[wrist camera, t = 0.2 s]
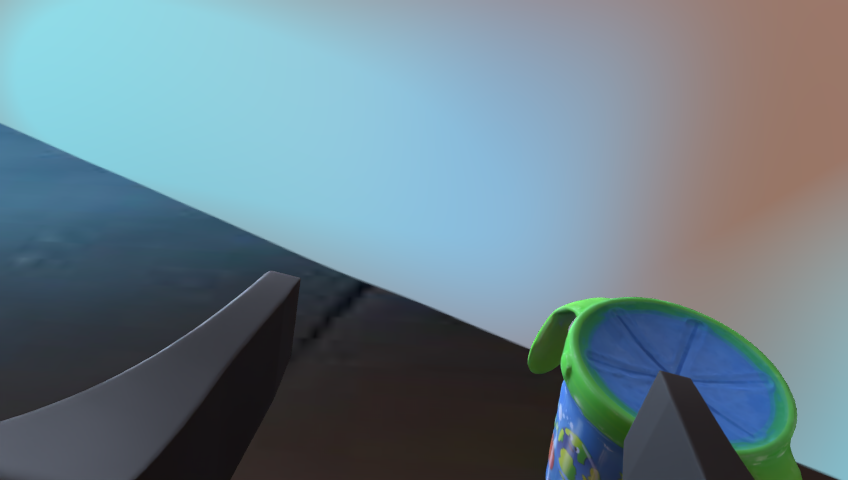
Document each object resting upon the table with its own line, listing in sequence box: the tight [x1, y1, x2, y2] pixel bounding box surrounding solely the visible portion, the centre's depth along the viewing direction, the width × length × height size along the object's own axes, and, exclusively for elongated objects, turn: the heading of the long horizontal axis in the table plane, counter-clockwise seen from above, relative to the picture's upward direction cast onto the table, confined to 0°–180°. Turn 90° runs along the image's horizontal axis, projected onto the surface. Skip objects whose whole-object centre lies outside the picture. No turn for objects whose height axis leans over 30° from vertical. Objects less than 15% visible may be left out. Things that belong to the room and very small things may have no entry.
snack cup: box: [528, 297, 802, 480], centre depth 37 cm, size 16×11×10 cm
